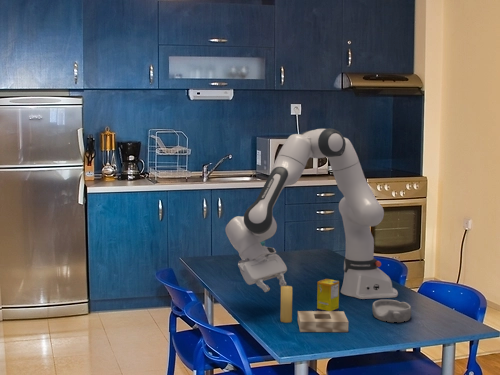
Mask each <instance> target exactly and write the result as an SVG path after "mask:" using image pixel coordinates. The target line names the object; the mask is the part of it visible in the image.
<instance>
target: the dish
mask: <svg viewBox="0 0 500 375" xmlns="http://www.w3.org/2000/svg"><path fill="white" fill-rule="evenodd" d="M371 308H372V314H373V317H374V318H376V319H377V320H379V321H382V322H386V321H387V323H394V322H397V323H404V321H405V322H407V321H410V319H411V316H412V306H411V305H410V304H409V303H408V302H405V301H399V300H397V299H395V300H394V299H378V300H375V301H374V302H372V307H371Z"/></svg>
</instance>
